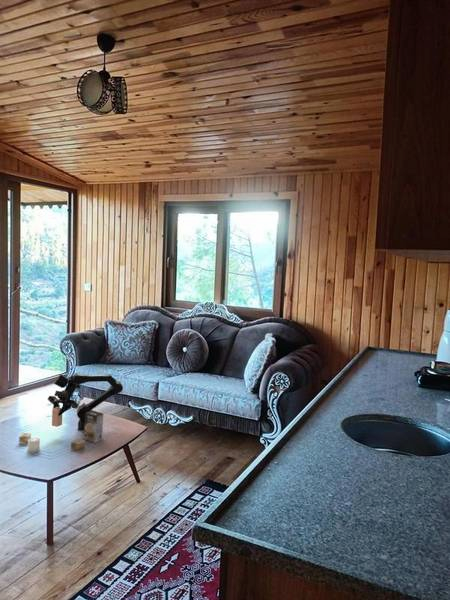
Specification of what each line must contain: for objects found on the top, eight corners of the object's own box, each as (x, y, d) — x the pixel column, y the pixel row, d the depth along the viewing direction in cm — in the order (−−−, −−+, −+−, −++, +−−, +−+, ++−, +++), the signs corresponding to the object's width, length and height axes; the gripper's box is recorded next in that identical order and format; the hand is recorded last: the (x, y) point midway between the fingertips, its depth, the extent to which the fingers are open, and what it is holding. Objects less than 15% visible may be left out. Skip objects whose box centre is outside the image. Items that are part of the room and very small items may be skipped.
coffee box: (83, 439, 264) (84, 412, 262) (90, 435, 270) (91, 409, 268) (95, 442, 260) (96, 416, 259) (102, 439, 266) (103, 413, 264)
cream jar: (41, 448, 248) (41, 438, 247) (36, 453, 242) (36, 442, 241) (31, 447, 248) (31, 437, 248) (25, 452, 242) (25, 441, 242)
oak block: (30, 440, 258) (30, 433, 257) (28, 444, 253) (28, 436, 252) (21, 440, 257) (21, 433, 256) (18, 444, 252) (19, 436, 252)
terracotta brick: (62, 424, 266) (62, 406, 265) (57, 426, 263) (57, 408, 262) (56, 423, 268) (57, 405, 267) (51, 425, 264) (52, 407, 263)
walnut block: (84, 448, 251) (84, 441, 251) (77, 452, 247) (78, 444, 247) (77, 446, 254) (77, 439, 253) (70, 450, 249) (71, 442, 249)
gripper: (50, 382, 270) (36, 405, 260) (75, 387, 264) (62, 411, 254) (58, 392, 278) (45, 414, 269) (83, 396, 272) (70, 420, 262)
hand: (55, 414), depth 263 cm, fingers closed on terracotta brick, 4 cm apart
